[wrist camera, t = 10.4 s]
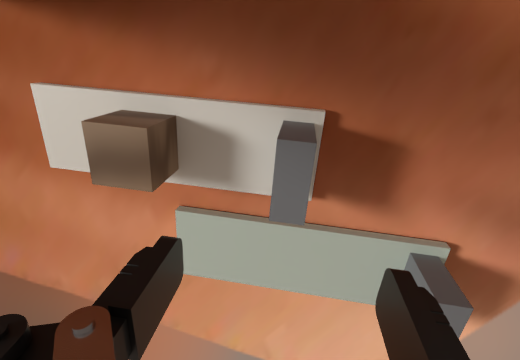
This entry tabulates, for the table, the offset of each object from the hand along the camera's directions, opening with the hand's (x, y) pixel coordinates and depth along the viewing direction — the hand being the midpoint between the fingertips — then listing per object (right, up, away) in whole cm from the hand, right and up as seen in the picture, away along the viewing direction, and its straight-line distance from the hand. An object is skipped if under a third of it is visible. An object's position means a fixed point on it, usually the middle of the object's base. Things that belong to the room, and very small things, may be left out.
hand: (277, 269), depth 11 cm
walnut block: (-11, +7, +14) cm, 19 cm away
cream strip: (-8, +7, +15) cm, 19 cm away
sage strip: (+4, -4, +18) cm, 19 cm away
